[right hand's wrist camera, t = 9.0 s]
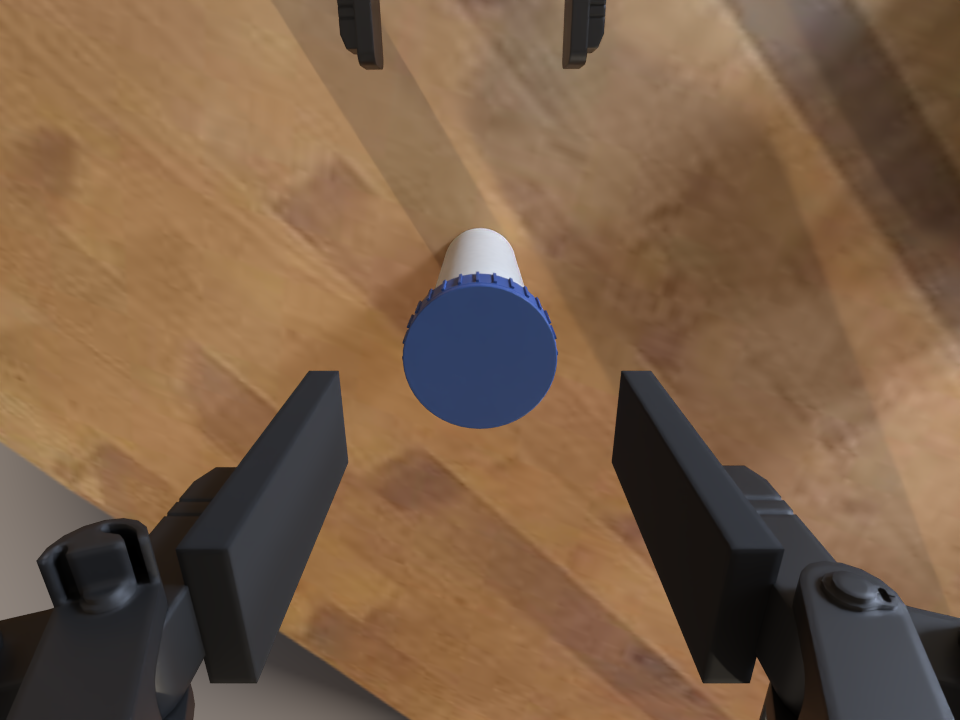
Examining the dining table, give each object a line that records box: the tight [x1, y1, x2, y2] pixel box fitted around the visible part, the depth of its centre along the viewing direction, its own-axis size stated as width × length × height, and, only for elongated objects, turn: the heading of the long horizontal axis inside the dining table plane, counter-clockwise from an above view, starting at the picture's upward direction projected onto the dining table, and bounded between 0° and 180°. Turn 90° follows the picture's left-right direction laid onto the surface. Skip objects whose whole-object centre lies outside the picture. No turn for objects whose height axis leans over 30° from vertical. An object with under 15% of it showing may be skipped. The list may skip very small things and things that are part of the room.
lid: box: [402, 272, 558, 429], centre depth 19 cm, size 5×5×2 cm
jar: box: [435, 228, 524, 288], centre depth 25 cm, size 4×4×15 cm
